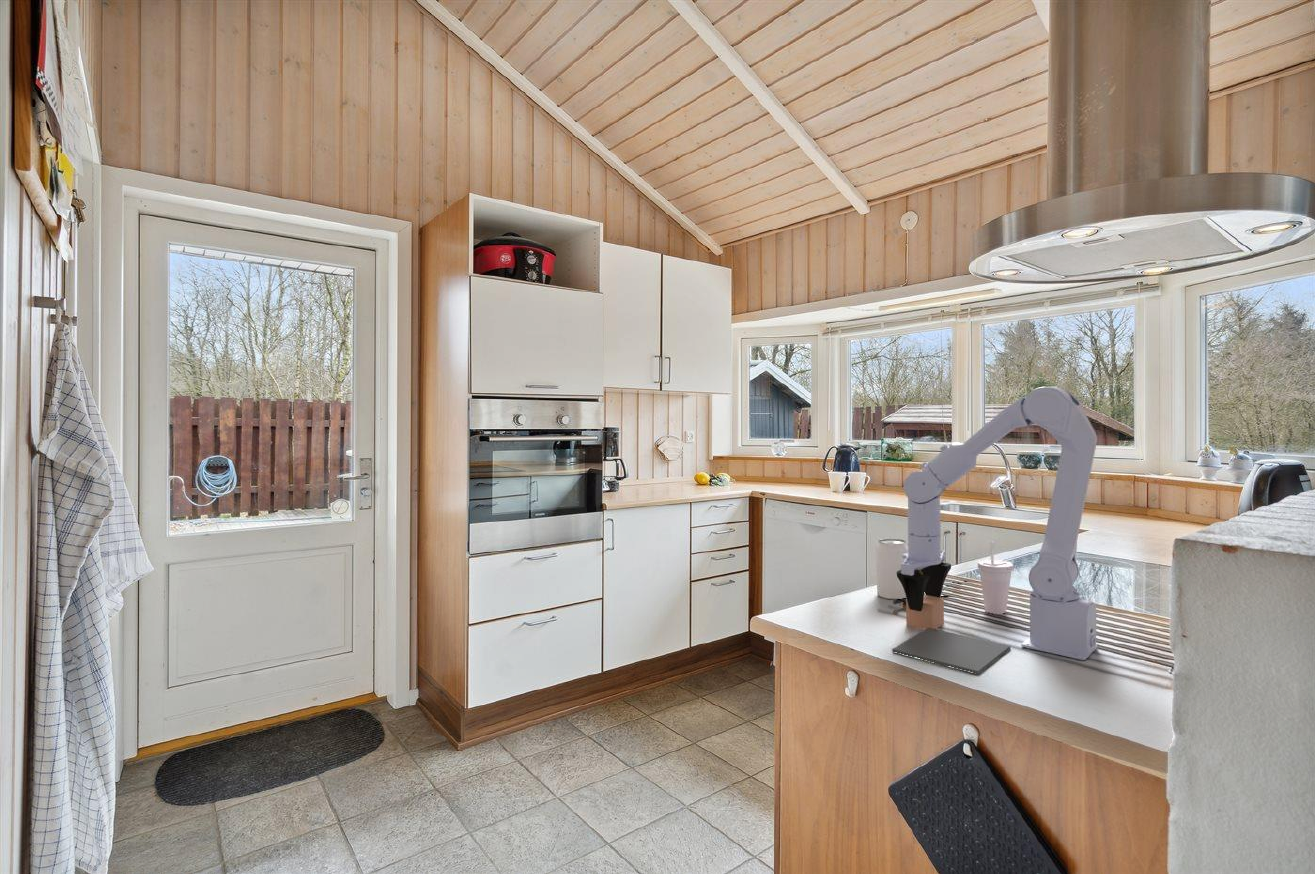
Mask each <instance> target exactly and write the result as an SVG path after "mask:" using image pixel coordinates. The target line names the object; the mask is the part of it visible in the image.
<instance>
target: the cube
mask: <svg viewBox="0 0 1315 874" xmlns="http://www.w3.org/2000/svg"><path fill="white" fill-rule="evenodd" d="M944 599H945V597H940V598H939V597H934V596H928V595H924V601H923V607H922V610H921V611H915V610H911V609H909V606H908V602H907V598H906V599H905V612H906V613H905V616H906V619H905V622H906V623H905V624H906V626H909V627H913V628H918V629H923V630H925V629H927V628H933V629H937V630H938V628H940V627H942V626H943V625H944V624H945V608H944V607H945V605H944V604H945V603H944V602H945V600H944Z"/></svg>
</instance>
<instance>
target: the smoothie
mask: <svg viewBox="0 0 1315 874" xmlns="http://www.w3.org/2000/svg"><path fill="white" fill-rule="evenodd" d="M994 542H995V541H993V540H991V541H990V559H982V560H978V561H977V569H979V577H980V582H981V590H982V597H983V605H984V611H985V610H986V611H987V612H986V611H985V612H986V613H988V612H990V613H989V614H991V613H993V615H1004V614H1003V613H1005V612H1006V613H1007V608H1008V607H1007V606H1008V599H1009V592H1010V585H1011V584H1010V583H1011V580H1012V571H1014V570H1015V569H1014V564H1013V563H1012V562H1010V561H1006V560H1001V559H995V546H994V545H995V543H994ZM1006 613H1005V614H1006Z"/></svg>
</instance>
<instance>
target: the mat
mask: <svg viewBox="0 0 1315 874" xmlns="http://www.w3.org/2000/svg"><path fill="white" fill-rule="evenodd" d="M1010 650H1011V646H1010V645H1008V644H1007V645H1006V644H1003V643H998V642H995V641H990V640H987V639H985V640H984V639H982V638H976V637H971V636H968V635H964V634H958V633H955V632H954V633H953V632H949V631H946V630H942V629H938V628H937V629H933V628H927V629H923V630H922V631H921V632H919V633H917V634H915V635H914V636H912V637H910V638H908V639H907V640H905V641H904V642H902V643H900V644H899V645H897V646H895V647H893V648H892V651H893V652H897V653H901V654H904V655H908V656H912V657H917V658H920V659H923V660H927V661H930V662H929V663H931V662H934V663H936V664H935V665H938V664H939V666H942V665H943V667H946V666H951V667H954V668H958V669H962V670H966V671H970V672H973V673H976V674H975V675H977V674H978V675H979V673H980V672H981V671H982V672H983V671H985V670H986V669H988V666H989V667H990V666H991V665H992V664H994V663H995V662H996V661H997V660H999V659H1000V658H1002V656H1004V655H1005V654H1006V653H1007V652H1008V651H1010ZM892 651H891V652H892ZM904 655H903V656H904ZM908 656H907V657H908ZM912 657H911V658H912ZM923 660H922V661H923ZM927 661H926V662H927ZM934 663H933V664H934ZM954 668H953V669H954ZM985 668H986V669H985ZM984 669H985V670H984ZM982 672H981V673H982ZM973 673H972V674H973ZM981 673H980V674H981Z"/></svg>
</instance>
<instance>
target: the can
mask: <svg viewBox="0 0 1315 874" xmlns="http://www.w3.org/2000/svg"><path fill="white" fill-rule="evenodd" d="M906 543H907V541H906V540H904V539H900V538H881V539H878V544H877V546H876V592H877V593H876V594H877V595H878V597H880V598H882V599H885V600H891V601H898V600H897V599H900V598H904V597H906V594H905V591H904V588H903V586H902V584H901V582H900V580H899V579H898V577H897V571H899V570H901V564H902V563H904V562H905V560H906V559H904V558H902V555H903V554H905V553H908V545H907V544H906Z"/></svg>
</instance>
